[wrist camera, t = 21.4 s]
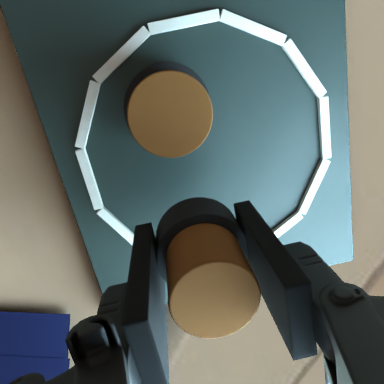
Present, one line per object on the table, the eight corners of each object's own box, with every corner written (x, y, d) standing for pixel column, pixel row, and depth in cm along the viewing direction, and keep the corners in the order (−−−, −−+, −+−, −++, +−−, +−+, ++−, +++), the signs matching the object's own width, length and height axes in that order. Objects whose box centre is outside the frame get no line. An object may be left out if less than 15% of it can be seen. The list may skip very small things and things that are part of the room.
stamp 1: (197, 55, 16) (213, 47, 12) (211, 134, 18) (231, 156, 13) (117, 72, 16) (102, 70, 11) (138, 151, 18) (131, 178, 13)
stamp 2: (231, 188, 15) (265, 237, 11) (243, 261, 17) (278, 333, 12) (146, 207, 15) (143, 265, 10) (166, 279, 17) (170, 359, 12)
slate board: (332, -65, 16) (346, -76, 15) (345, 252, 22) (356, 263, 21) (6, 1, 16) (-7, -5, 14) (111, 306, 22) (109, 320, 21)
